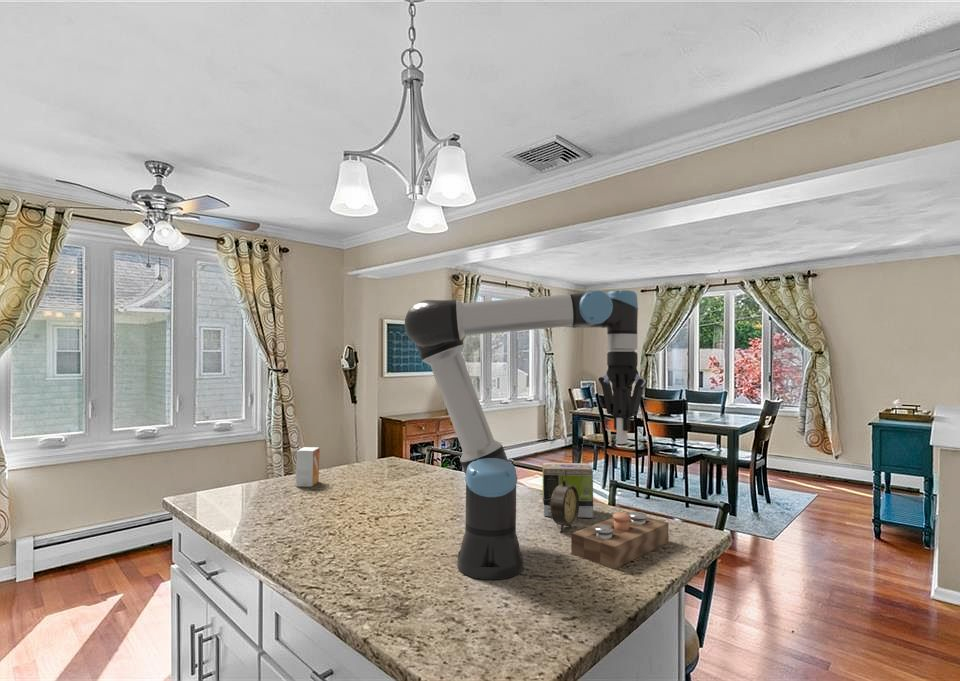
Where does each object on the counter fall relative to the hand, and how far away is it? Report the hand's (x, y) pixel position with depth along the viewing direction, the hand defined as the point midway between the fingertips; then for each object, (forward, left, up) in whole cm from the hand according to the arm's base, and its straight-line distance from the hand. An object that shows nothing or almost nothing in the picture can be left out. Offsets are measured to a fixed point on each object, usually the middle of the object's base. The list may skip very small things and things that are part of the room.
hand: (621, 443), depth 130 cm
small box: (-32, +112, -27) cm, 119 cm away
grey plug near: (-8, 0, -25) cm, 26 cm away
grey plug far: (+8, 0, -25) cm, 26 cm away
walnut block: (0, 0, -26) cm, 26 cm away
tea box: (+13, +27, -27) cm, 40 cm away
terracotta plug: (0, 0, -23) cm, 23 cm away
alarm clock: (+1, +19, -27) cm, 33 cm away
